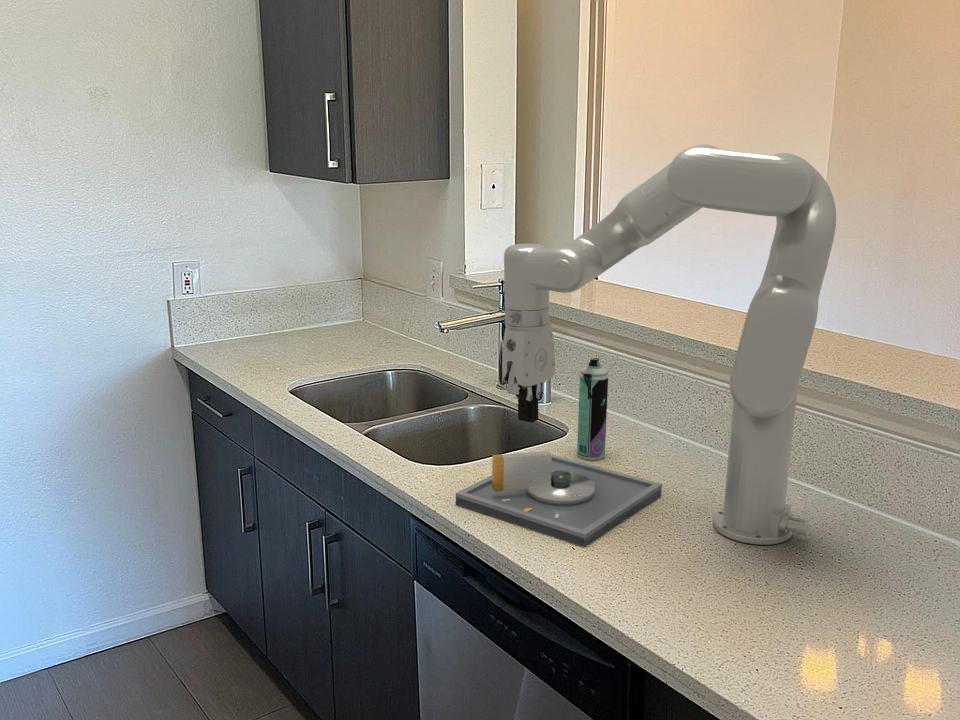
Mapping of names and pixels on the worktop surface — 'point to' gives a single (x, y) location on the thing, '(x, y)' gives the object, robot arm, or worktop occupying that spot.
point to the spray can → (592, 411)
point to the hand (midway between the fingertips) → (528, 420)
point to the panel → (568, 523)
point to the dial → (540, 479)
